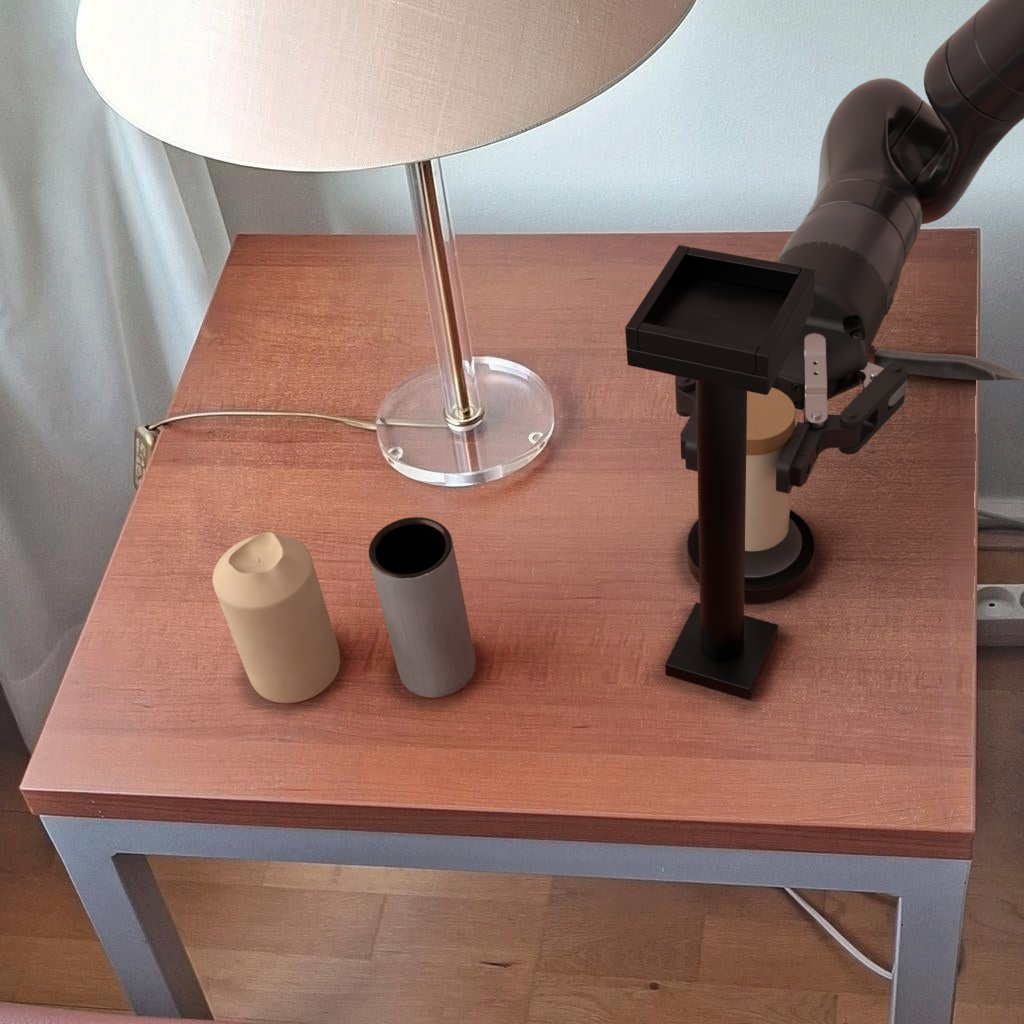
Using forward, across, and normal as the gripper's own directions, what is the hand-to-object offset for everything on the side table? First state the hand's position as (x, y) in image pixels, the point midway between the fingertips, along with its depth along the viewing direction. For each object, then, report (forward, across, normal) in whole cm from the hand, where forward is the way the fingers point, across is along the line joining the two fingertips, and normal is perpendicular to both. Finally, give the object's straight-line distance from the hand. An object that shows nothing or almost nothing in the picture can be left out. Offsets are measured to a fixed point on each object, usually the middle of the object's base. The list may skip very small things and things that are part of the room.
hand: (737, 469), depth 78 cm
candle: (+15, -22, +10) cm, 28 cm away
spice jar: (-3, 0, +7) cm, 7 cm away
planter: (+12, -14, +10) cm, 21 cm away
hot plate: (-2, 0, +10) cm, 10 cm away
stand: (+5, +1, +10) cm, 11 cm away
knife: (-21, +3, +9) cm, 23 cm away
